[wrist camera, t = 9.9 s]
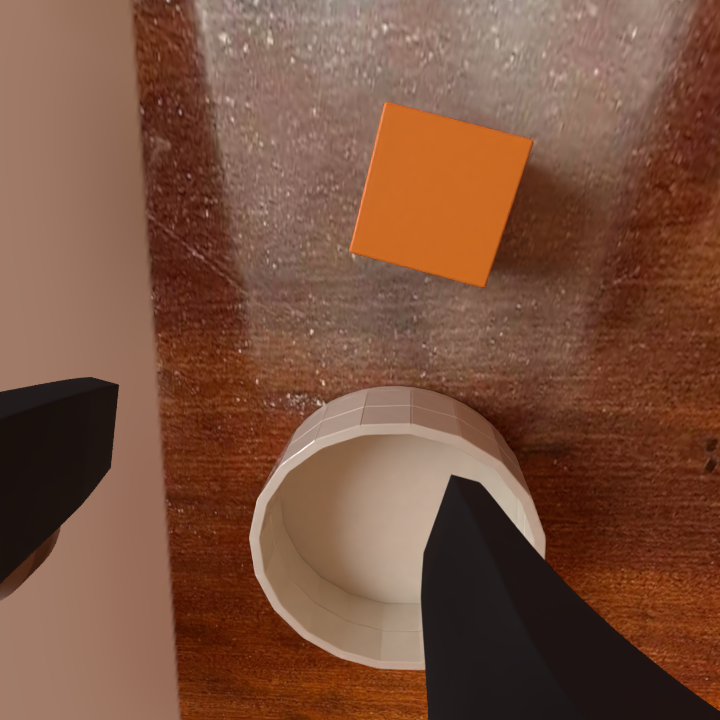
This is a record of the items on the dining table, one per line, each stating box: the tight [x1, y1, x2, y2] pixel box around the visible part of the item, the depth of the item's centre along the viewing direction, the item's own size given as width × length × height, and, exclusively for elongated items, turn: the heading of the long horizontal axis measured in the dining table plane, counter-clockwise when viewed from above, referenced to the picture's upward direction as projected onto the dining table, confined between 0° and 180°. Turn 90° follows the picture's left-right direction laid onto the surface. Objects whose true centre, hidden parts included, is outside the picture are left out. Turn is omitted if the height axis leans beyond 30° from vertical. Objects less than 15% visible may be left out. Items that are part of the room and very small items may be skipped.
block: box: [349, 102, 533, 288], centre depth 16 cm, size 4×4×4 cm
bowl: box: [249, 386, 546, 670], centre depth 20 cm, size 10×10×4 cm
